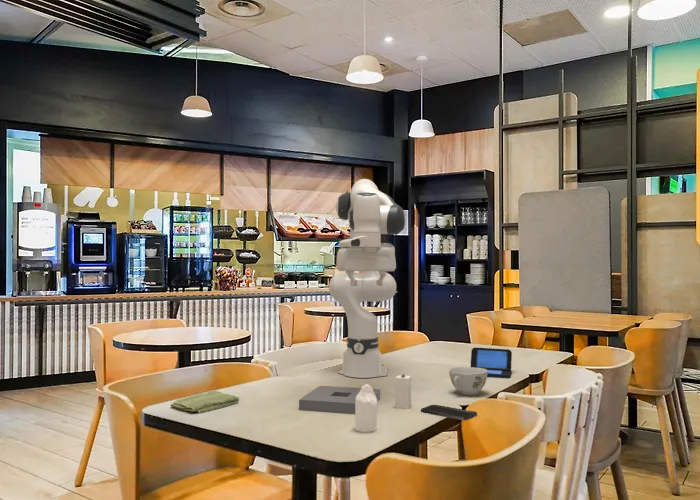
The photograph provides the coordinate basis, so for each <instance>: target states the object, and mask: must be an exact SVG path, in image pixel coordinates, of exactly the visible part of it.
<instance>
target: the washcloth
mask: <svg viewBox="0 0 700 500" xmlns="http://www.w3.org/2000/svg"><path fill="white" fill-rule="evenodd" d="M239 401H240V398H239V396H236V395H232V394H228V393H223V392H221V391H218V390H214V389H211V390H210V391H207V392H203V393H198V394H195V395H194V394H193V395H189V396H187V397H184V398H180V399H176V400H175V401H173V402H172V403H171V404H170V407H171V408H173V409H178V410H181V411H184V412H185V411H186V412H192V413H195V414H198V415H199V414H205V413H207V412H211V411H214V410H215V411H216V410H219V409H222V408H226V407H229V406H235V405H237V404H238V403H239Z"/></svg>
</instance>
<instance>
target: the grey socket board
mask: <svg viewBox="0 0 700 500" xmlns="http://www.w3.org/2000/svg"><path fill="white" fill-rule="evenodd" d="M361 388H362V387H349V386H334V385H333V386H331V385H319V386H318V387H316V388H315V389H313V390H311V391H310V392H308V393H307V394H305V395H304V396H302V397H301V398H299V399H298V410H299V411H313V412H323V413H325V412H326V413H338V414H353V415H355V399H356V396H357V395H358V393H359V392H360V390H361ZM372 389H373V391H374V393H375V395H376V398H377V402H378V401H379V400H380V399H381V389H380V388H379V389H378V388H372Z"/></svg>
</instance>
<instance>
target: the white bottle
mask: <svg viewBox="0 0 700 500" xmlns="http://www.w3.org/2000/svg"><path fill="white" fill-rule="evenodd" d="M360 388H361V390H360V392H359V393H358V395H357V396H356V399H355V414H354V417H355V418H354V420H355V421H354V422H355V423H354V424H355V425H354V427H355V431H357V432H360V433H371V432H372V433H373V432H375V431H377V428H378V426H377V423H378V420H377V419H378V401H377V398H376V395H375V393H374V391H373V389H374V388H373V387H372V386H371V385H369V384H368V383H366V384H363V385H362V386H361V387H360Z"/></svg>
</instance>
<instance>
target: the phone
mask: <svg viewBox="0 0 700 500" xmlns="http://www.w3.org/2000/svg"><path fill="white" fill-rule="evenodd" d="M420 412H421V413H422V412H423V414H427V413H428V415H433V416H438V417H444V418H449V419H455V420H460V421H469V420H470V419H473V418H475V417H477V416H478V412H477V411H474V410H473V411H472V410H468V411H467V409H462V408H456V407H450V406H445V405H440V404H439V405H438V404H430V405H427V406H425V407H422V408H421V409H420Z"/></svg>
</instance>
